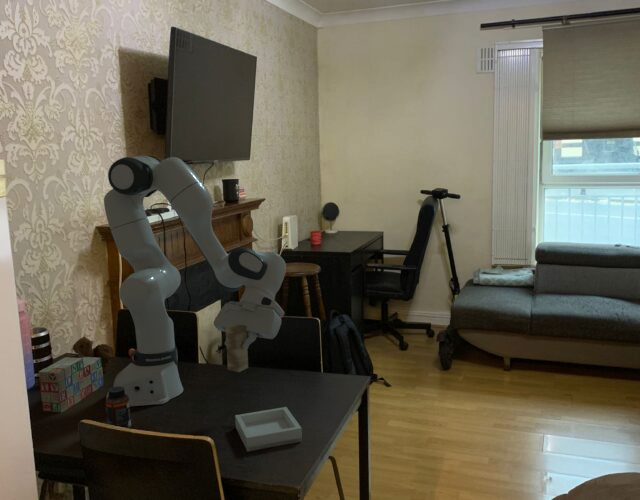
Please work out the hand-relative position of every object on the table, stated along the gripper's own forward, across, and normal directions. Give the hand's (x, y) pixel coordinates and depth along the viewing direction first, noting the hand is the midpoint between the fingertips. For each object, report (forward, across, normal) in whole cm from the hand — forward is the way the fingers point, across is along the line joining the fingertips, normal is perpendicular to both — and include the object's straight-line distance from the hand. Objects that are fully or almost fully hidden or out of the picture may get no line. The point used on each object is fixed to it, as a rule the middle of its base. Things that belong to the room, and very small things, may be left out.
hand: (235, 347), depth 169 cm
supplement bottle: (+30, -22, -2) cm, 37 cm away
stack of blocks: (+24, -52, +4) cm, 57 cm away
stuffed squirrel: (+12, -64, +15) cm, 67 cm away
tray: (+18, +15, +9) cm, 25 cm away
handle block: (+4, 0, +5) cm, 6 cm away
